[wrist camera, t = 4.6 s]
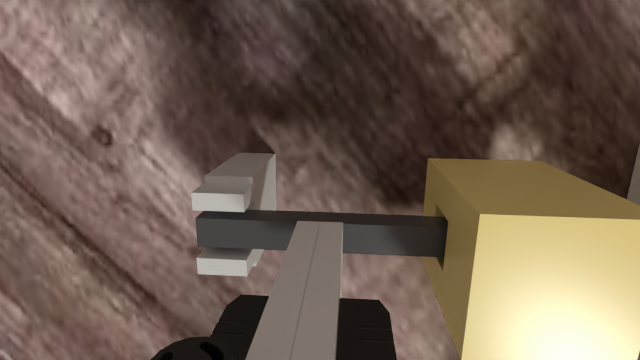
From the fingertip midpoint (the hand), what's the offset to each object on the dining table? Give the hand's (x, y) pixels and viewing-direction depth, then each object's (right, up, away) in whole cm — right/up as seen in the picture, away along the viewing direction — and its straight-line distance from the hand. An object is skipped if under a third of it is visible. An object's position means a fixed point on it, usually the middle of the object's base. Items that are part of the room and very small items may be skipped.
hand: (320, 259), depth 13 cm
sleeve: (+7, +1, +5) cm, 9 cm away
